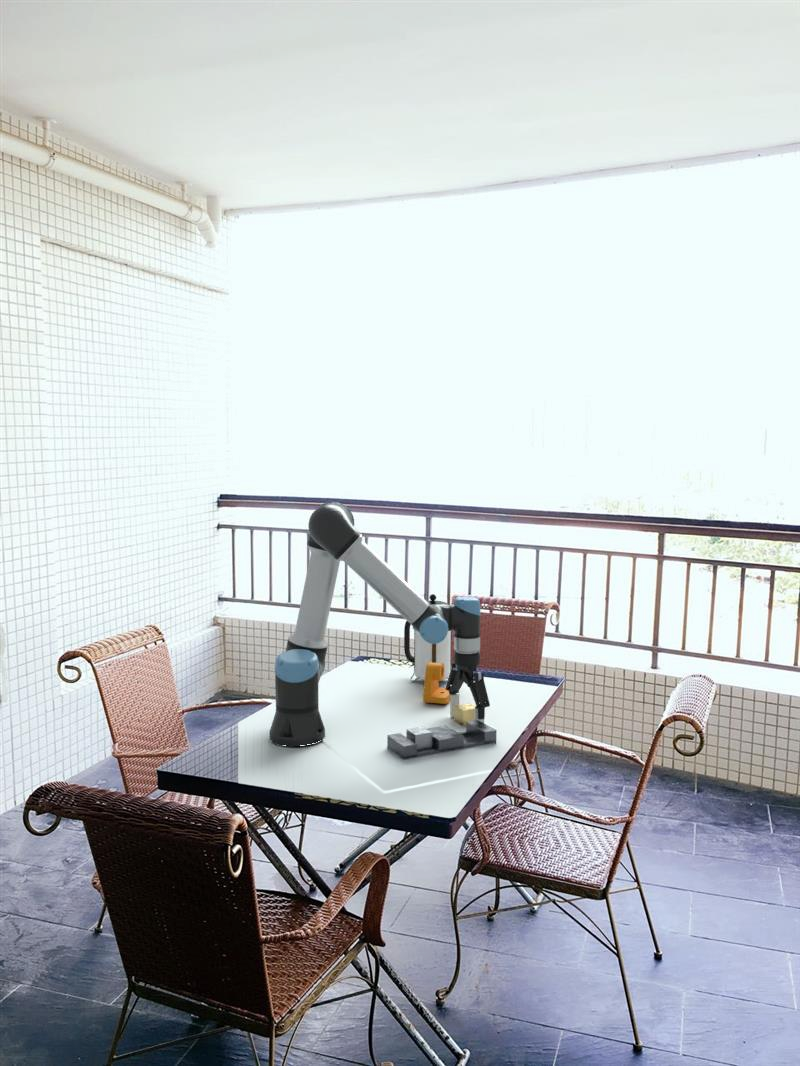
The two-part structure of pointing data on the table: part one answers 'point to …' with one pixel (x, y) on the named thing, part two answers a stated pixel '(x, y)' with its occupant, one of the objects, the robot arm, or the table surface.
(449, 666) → the coffee press
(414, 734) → the brushed aluminum cube
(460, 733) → the grey stepped block holder
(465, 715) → the sand colored cube
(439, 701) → the bracket
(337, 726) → the table surface
